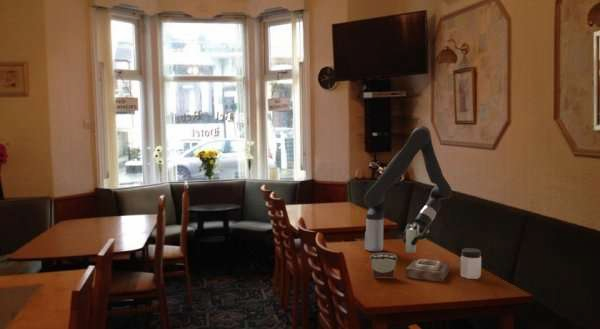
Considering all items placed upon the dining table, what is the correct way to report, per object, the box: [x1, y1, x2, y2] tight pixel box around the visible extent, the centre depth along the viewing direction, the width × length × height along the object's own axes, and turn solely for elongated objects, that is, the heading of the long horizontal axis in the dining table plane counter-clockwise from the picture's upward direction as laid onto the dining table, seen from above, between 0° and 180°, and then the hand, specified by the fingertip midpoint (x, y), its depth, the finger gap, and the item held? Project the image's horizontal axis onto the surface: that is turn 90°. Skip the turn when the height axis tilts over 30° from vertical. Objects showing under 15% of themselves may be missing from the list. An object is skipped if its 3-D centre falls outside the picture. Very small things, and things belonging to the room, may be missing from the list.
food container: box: [369, 252, 398, 279], centre depth 231 cm, size 12×6×10 cm, turn 84°
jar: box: [460, 247, 482, 280], centre depth 230 cm, size 9×8×12 cm
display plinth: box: [405, 258, 450, 283], centre depth 232 cm, size 16×16×6 cm
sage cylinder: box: [405, 229, 417, 254], centre depth 253 cm, size 5×5×11 cm
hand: (408, 243), depth 252 cm, fingers closed on sage cylinder, 5 cm apart
